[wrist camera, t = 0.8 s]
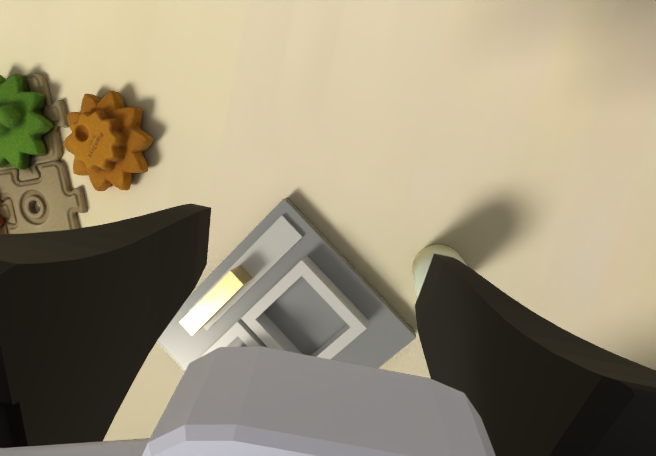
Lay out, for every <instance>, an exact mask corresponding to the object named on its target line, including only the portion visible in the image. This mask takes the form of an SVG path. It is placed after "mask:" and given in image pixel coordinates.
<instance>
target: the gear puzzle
mask: <svg viewBox="0 0 656 456" xmlns="http://www.w3.org/2000/svg"><path fill="white" fill-rule="evenodd" d="M142 113H143V111H142V109H141V108H136V107H126V108H125V106H124V102H123V99H122V97H121V95H120V93H119V92H115V91H110V92H109V93H107V94H106V95H105V96H104V97H103V98H102V100H101V99H99V98H98V97H97V96H95V95H92V94H85V95H84V98H83V100H82V106H81V113H80V112H72V113H69V114H67V109H66V106H65V102H64V101H61V100H58V101H56V102H55V103H54V104H53V102H52V98H51V93H50V89H49V85H48V81H47V79H46V77H45V76H44V75H42V74H37V73H35V74H30V75H26V76H23V75H19V74H14V75H12V76H11V77H9V78H7V80H6V79H5V78H4V77H2V76H1V75H0V234H24V233H37V232H49V231H62V230H71V229H78V228H80V227H79V222H78V218H77V212H80V213H86V212H87V205H86V200H85V195H84V191H83V189H82V188H75V189H74V190H73V191H72V189H71V185H70V181H69V176H68V172H67V168H66V166H65V164H64V163H63V162H61V161H60V159H61V158H62V156H63V149H62V144H61V140H60V136H59V127H64V128H67V127H69V126H70V128H71V130H72V134H70V135H69V136H68V137H67V138H66V139H65V141H64V143H63V146H64V147H65V148H66V149H67V150H68V151H69V152H71V153H73V154H74V155H75V159H74V164H73V171H74V174H77V175H89V177H90V180H91V183H92V185H93V187H94V188H95V190H97V191H105V190H106V189H107V188H108V187H109V186H110V185H111V184H113V185H114V186H115V187H117V188H119V189H121V190H129V188H130V185H131V179H132V173H144V172H147V171H148V167H147V163H146V161H145V159H144V157H143V154H142V152H143V151H144V150H146V149H147V148H148V147H149V146H150V145H151V144H152V142H153V138H152V137H151V136H150V135H149V134H148V133H146V132H144V131H142V130H140V125H141V121H142ZM36 201H37V202H38V203H39V205H40V211H39V212H37V211H36V210H35V207H34V204H35V202H36Z"/></svg>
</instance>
